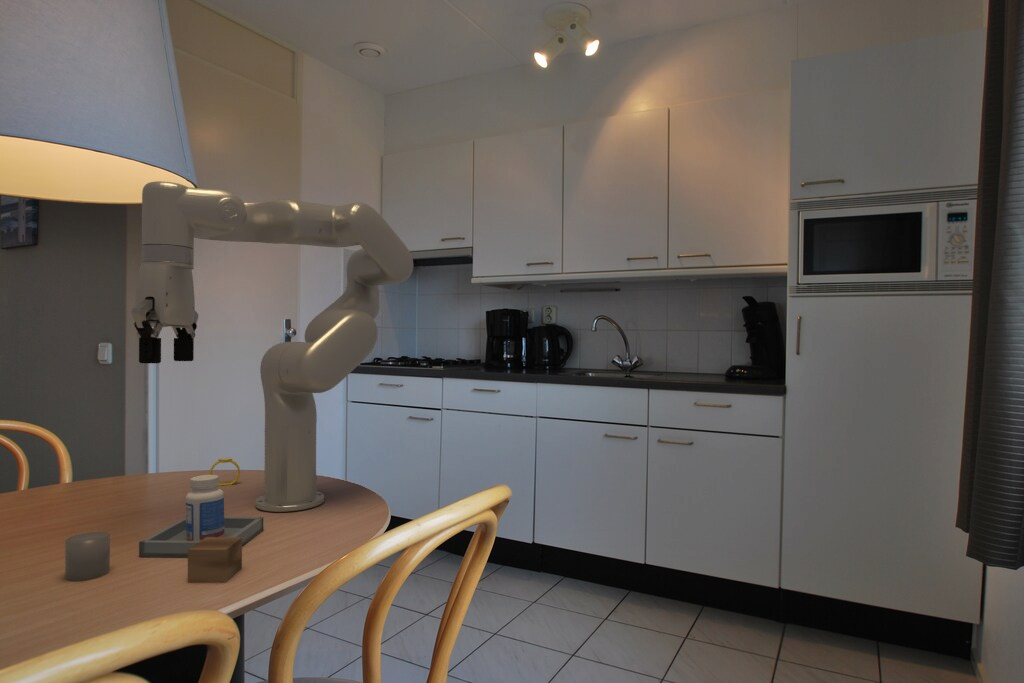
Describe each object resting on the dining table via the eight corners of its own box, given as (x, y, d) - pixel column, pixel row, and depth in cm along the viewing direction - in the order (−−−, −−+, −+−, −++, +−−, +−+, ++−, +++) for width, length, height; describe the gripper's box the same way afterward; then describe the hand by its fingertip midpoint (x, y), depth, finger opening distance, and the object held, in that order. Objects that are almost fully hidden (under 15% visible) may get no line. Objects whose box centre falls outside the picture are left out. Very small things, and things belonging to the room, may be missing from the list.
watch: (238, 483, 137) (241, 457, 137) (238, 486, 134) (241, 459, 134) (209, 484, 134) (211, 457, 134) (208, 487, 132) (210, 459, 132)
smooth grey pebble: (82, 567, 86) (82, 531, 86) (117, 567, 86) (118, 532, 86) (55, 581, 81) (56, 543, 81) (93, 581, 81) (94, 544, 81)
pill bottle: (230, 533, 99) (230, 473, 99) (214, 544, 94) (215, 481, 94) (196, 533, 99) (196, 473, 99) (178, 544, 94) (178, 481, 93)
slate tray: (186, 529, 103) (186, 516, 103) (263, 530, 103) (263, 517, 103) (138, 557, 90) (139, 542, 90) (227, 557, 90) (227, 543, 90)
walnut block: (206, 569, 86) (206, 537, 86) (241, 569, 86) (242, 537, 86) (187, 583, 81) (187, 549, 81) (225, 583, 81) (225, 549, 81)
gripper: (174, 265, 110) (174, 360, 110) (111, 251, 93) (110, 364, 93) (216, 265, 110) (215, 360, 110) (160, 251, 93) (159, 364, 93)
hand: (167, 362), depth 101 cm, fingers open, 9 cm apart
